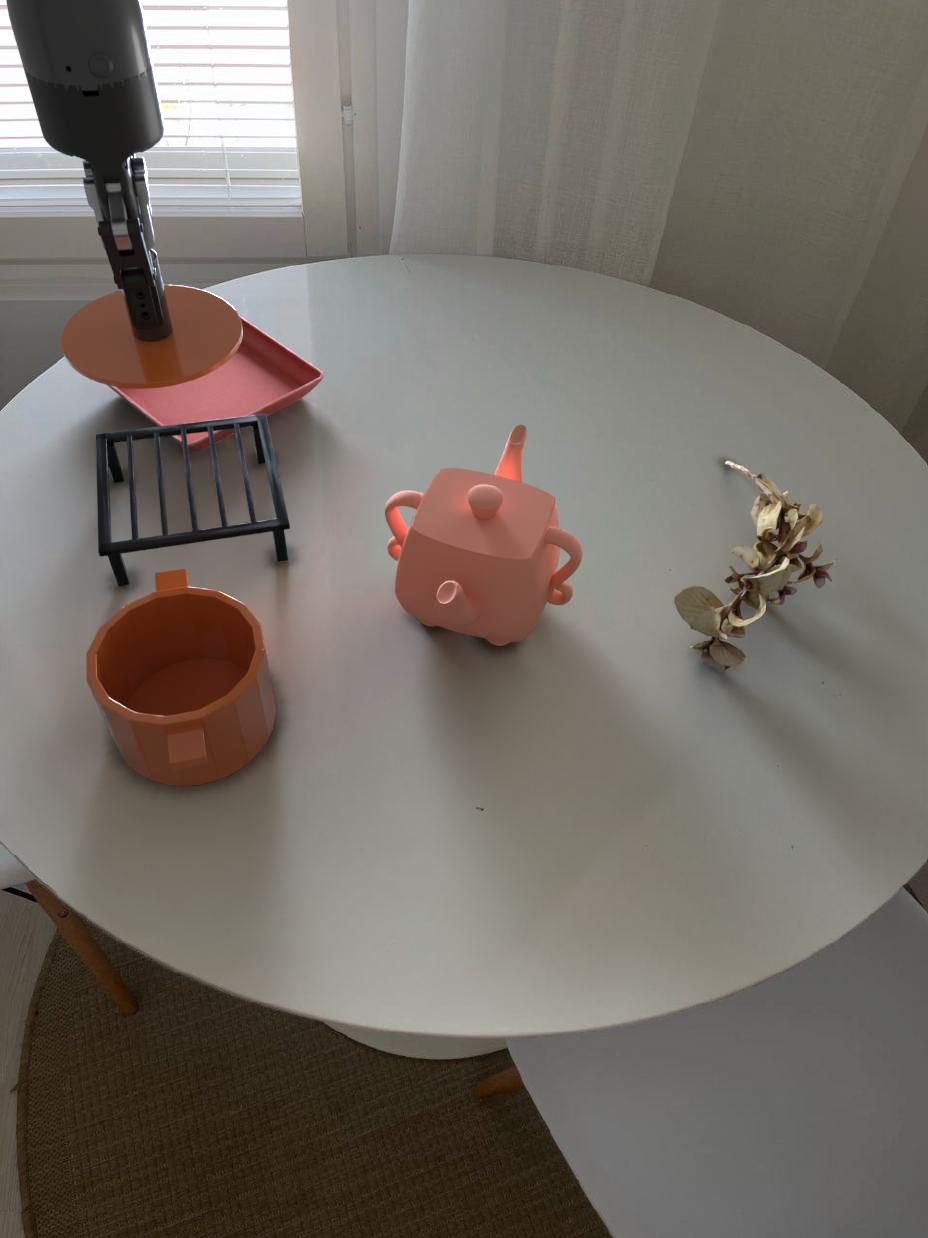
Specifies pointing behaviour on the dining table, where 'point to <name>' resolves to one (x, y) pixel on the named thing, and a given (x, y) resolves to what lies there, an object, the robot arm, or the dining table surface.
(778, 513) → the artificial flower
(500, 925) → the dining table surface
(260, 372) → the plant saucer
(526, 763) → the dining table surface
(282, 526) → the rack
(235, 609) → the pot
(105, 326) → the lid
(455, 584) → the teapot
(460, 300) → the dining table surface
